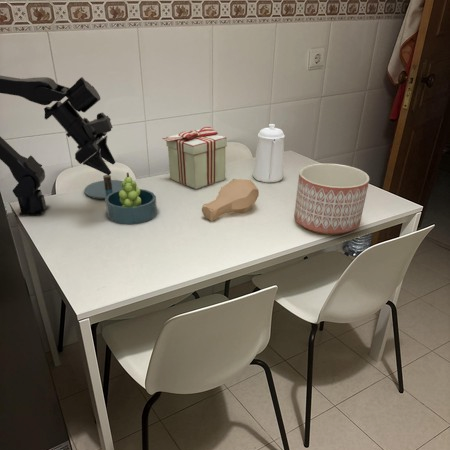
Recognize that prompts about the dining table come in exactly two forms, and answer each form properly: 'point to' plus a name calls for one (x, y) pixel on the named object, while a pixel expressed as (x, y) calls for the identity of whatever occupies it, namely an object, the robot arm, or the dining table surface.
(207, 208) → the squash
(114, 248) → the dining table surface
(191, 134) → the gift box
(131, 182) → the grapes
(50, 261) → the dining table surface
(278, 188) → the dining table surface
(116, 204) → the teal round bowl
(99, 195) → the lid
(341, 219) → the planter
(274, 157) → the coffeepot
